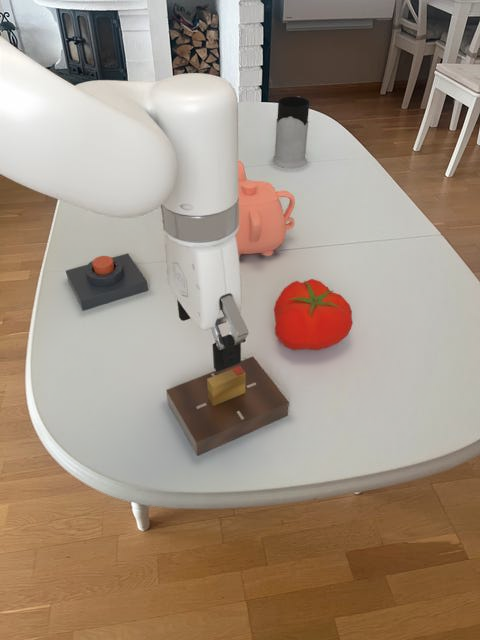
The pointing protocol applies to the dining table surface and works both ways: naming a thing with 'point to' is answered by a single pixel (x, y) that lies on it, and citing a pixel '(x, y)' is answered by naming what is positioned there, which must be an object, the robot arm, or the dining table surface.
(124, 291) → the button box
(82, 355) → the dining table surface
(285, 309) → the tomato
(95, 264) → the round orange push button
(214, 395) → the lock knob
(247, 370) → the plate
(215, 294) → the robot arm
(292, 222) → the teapot
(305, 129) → the glass holder
